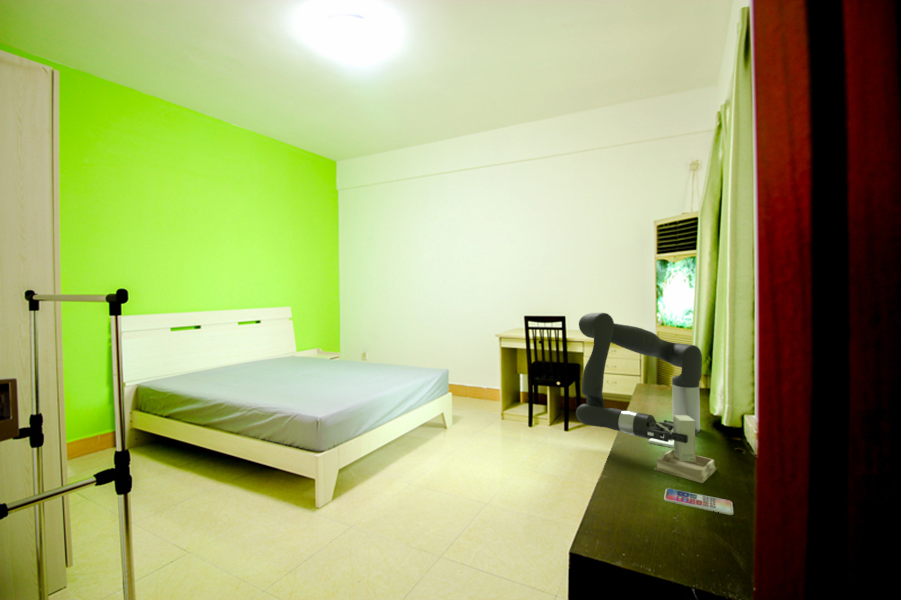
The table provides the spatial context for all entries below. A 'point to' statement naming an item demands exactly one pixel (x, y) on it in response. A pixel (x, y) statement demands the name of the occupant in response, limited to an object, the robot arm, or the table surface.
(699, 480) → the wooden tray
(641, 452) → the table surface
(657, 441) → the external hard drive
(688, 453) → the skincare box
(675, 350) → the robot arm
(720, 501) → the smartphone
